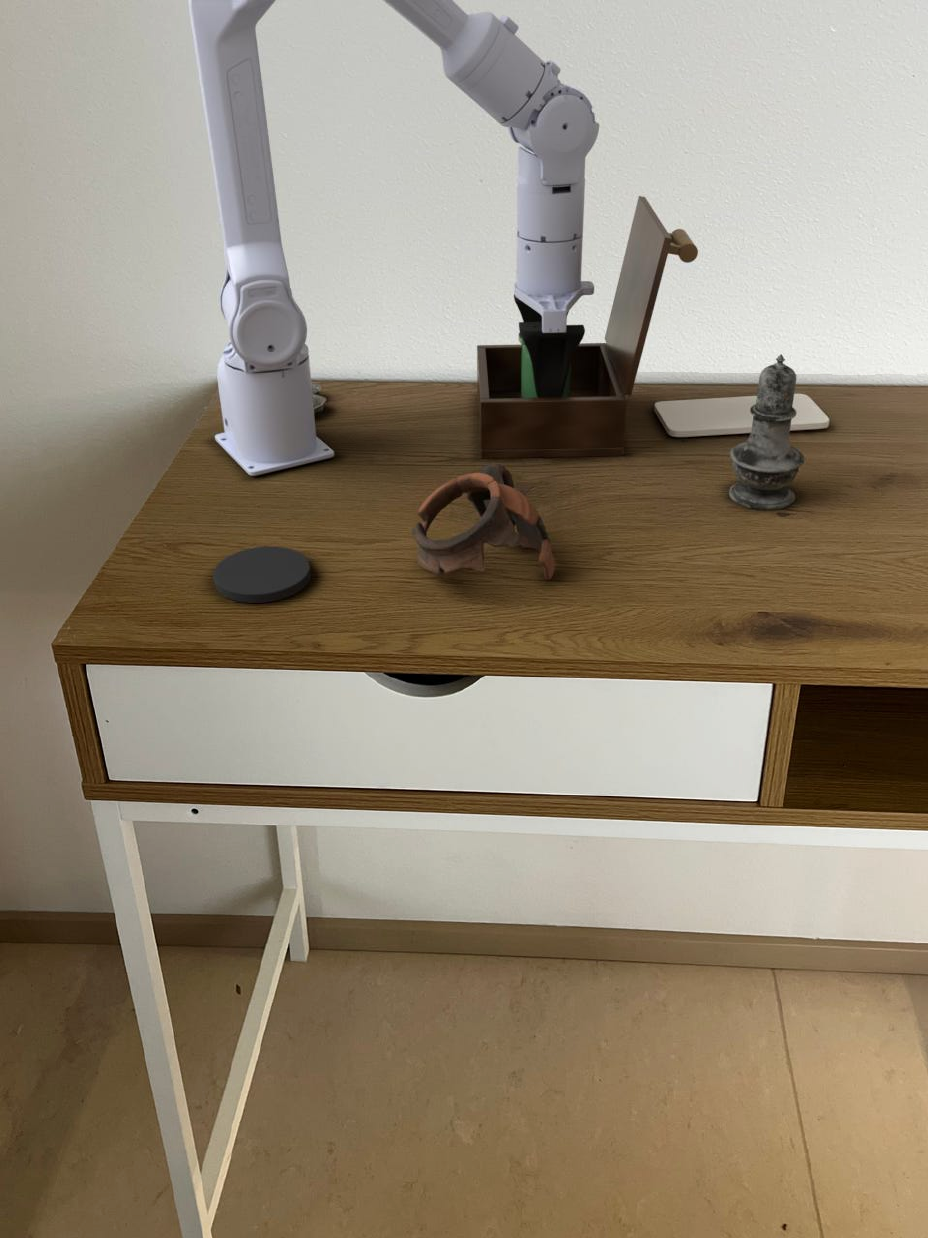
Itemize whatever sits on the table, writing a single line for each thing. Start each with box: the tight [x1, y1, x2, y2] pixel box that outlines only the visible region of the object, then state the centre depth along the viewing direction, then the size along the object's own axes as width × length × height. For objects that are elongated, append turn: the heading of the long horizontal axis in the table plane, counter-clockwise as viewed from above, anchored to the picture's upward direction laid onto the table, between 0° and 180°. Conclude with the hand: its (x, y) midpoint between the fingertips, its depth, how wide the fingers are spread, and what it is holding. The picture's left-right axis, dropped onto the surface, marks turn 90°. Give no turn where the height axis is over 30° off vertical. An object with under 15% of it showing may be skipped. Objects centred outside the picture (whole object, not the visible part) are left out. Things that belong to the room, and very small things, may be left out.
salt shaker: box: [728, 354, 805, 511], centre depth 91 cm, size 6×6×12 cm
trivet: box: [213, 546, 312, 604], centre depth 84 cm, size 7×7×1 cm
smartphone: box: [653, 393, 830, 438], centre depth 107 cm, size 7×1×15 cm
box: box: [476, 342, 628, 459], centre depth 106 cm, size 13×15×5 cm
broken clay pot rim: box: [411, 462, 555, 581], centre depth 84 cm, size 12×10×8 cm
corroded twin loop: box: [311, 382, 327, 415], centre depth 111 cm, size 5×8×1 cm, turn 13°
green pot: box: [517, 331, 572, 398], centre depth 106 cm, size 5×5×8 cm
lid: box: [604, 195, 699, 397], centre depth 101 cm, size 13×15×4 cm
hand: (546, 384), depth 106 cm, fingers open, 7 cm apart
